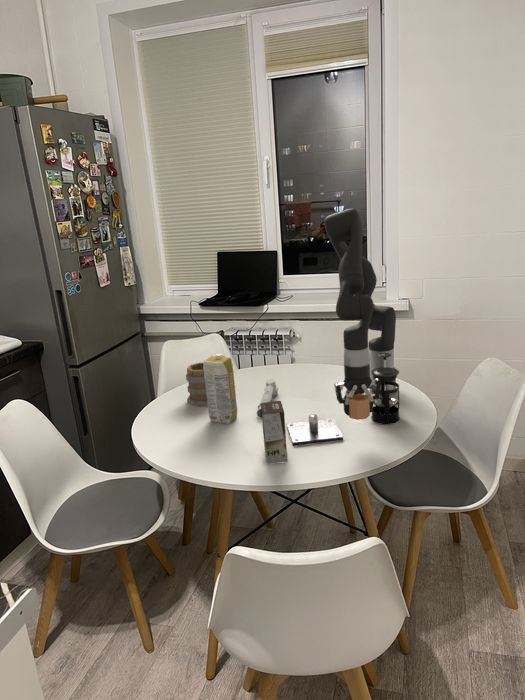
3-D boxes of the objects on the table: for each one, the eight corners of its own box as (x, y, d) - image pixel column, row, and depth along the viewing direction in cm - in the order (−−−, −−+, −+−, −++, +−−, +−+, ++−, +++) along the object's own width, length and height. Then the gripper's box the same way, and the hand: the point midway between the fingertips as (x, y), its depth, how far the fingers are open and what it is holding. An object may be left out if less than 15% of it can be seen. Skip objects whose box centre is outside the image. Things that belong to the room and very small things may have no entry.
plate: (333, 421, 177) (332, 404, 175) (343, 440, 163) (342, 422, 161) (286, 427, 176) (285, 410, 174) (292, 446, 162) (291, 427, 160)
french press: (399, 412, 180) (399, 349, 173) (403, 424, 171) (403, 357, 164) (365, 413, 181) (363, 350, 174) (367, 425, 172) (365, 359, 166)
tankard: (199, 408, 197) (195, 371, 192) (182, 400, 206) (177, 364, 202) (241, 393, 208) (238, 358, 204) (223, 386, 218) (220, 352, 213)
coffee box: (288, 462, 153) (284, 412, 148) (266, 464, 152) (262, 414, 148) (284, 447, 162) (281, 400, 157) (264, 450, 161) (259, 402, 157)
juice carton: (240, 416, 187) (234, 352, 180) (230, 425, 180) (223, 360, 173) (217, 413, 191) (210, 351, 184) (206, 422, 184) (199, 358, 177)
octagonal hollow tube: (365, 409, 162) (365, 390, 160) (371, 417, 156) (371, 397, 154) (345, 412, 162) (344, 392, 160) (350, 420, 156) (349, 400, 154)
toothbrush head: (254, 408, 183) (264, 375, 206) (256, 424, 186) (266, 390, 208) (268, 408, 182) (277, 375, 205) (270, 424, 185) (279, 389, 207)
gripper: (376, 354, 158) (377, 405, 163) (329, 360, 157) (332, 411, 162) (384, 362, 151) (385, 415, 156) (335, 368, 150) (338, 421, 155)
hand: (358, 412), depth 159 cm, fingers closed on octagonal hollow tube, 6 cm apart
